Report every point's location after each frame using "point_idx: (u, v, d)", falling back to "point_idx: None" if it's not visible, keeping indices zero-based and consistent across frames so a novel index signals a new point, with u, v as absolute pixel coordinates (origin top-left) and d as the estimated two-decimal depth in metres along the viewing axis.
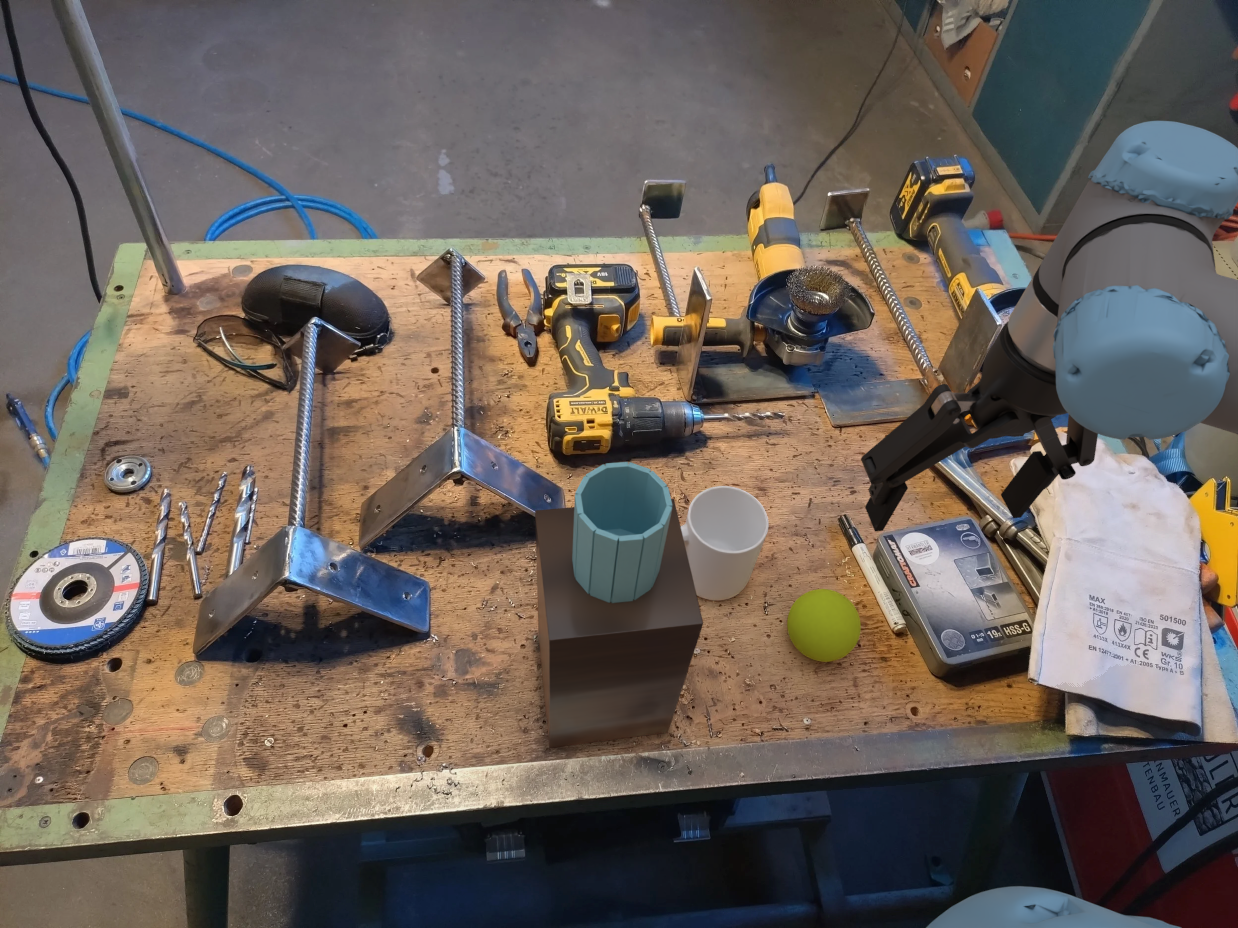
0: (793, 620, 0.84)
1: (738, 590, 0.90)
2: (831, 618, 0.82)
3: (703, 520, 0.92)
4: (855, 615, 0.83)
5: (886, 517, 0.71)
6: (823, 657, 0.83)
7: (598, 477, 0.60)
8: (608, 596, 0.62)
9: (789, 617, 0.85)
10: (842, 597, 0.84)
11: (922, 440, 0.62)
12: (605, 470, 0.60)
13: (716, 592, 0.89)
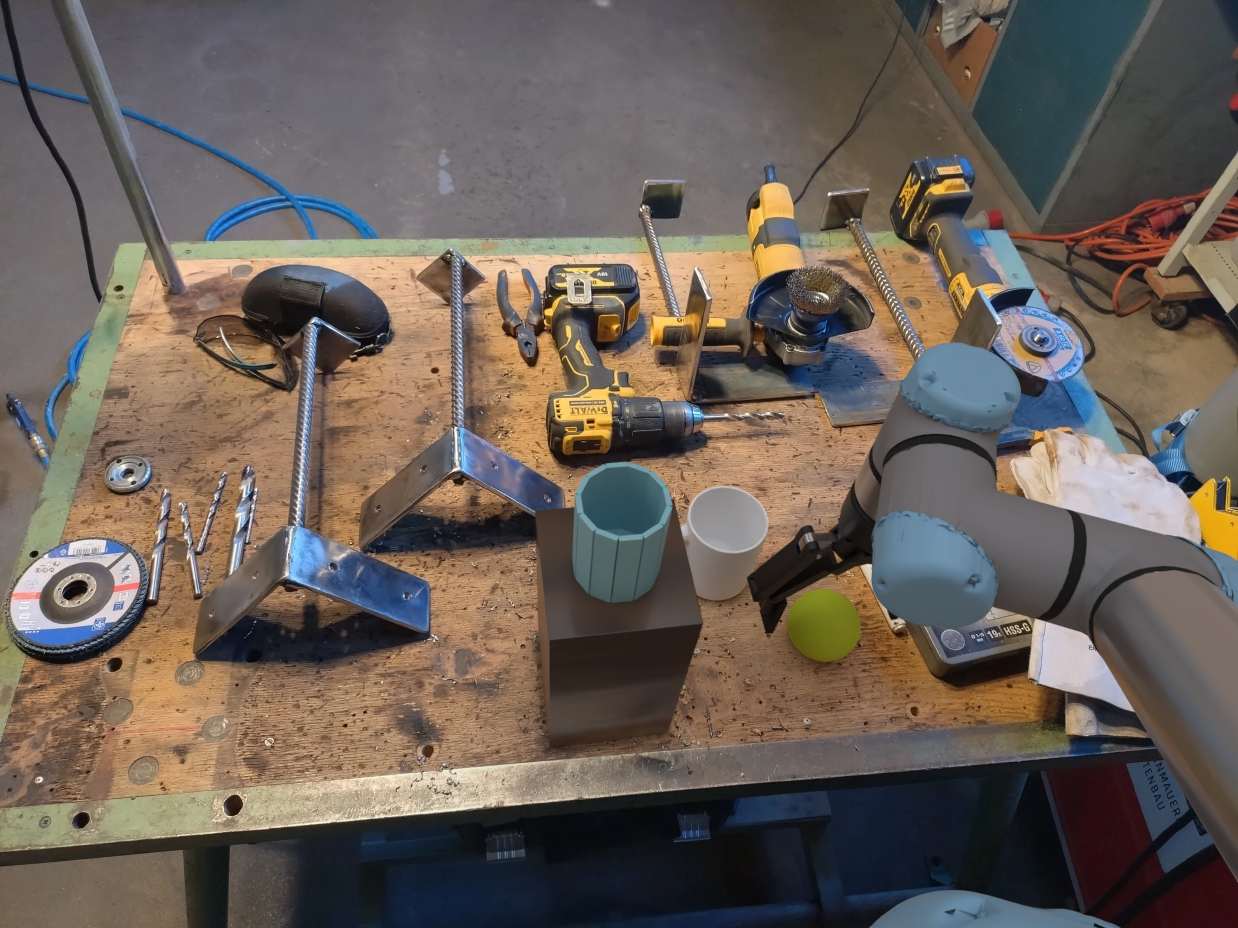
0: (793, 620, 0.84)
1: (738, 590, 0.90)
2: (831, 618, 0.82)
3: (703, 520, 0.92)
4: (855, 615, 0.83)
5: (773, 624, 0.81)
6: (823, 657, 0.83)
7: (598, 477, 0.60)
8: (608, 596, 0.62)
9: (789, 617, 0.85)
10: (842, 597, 0.84)
11: (791, 571, 0.72)
12: (605, 470, 0.60)
13: (716, 592, 0.89)
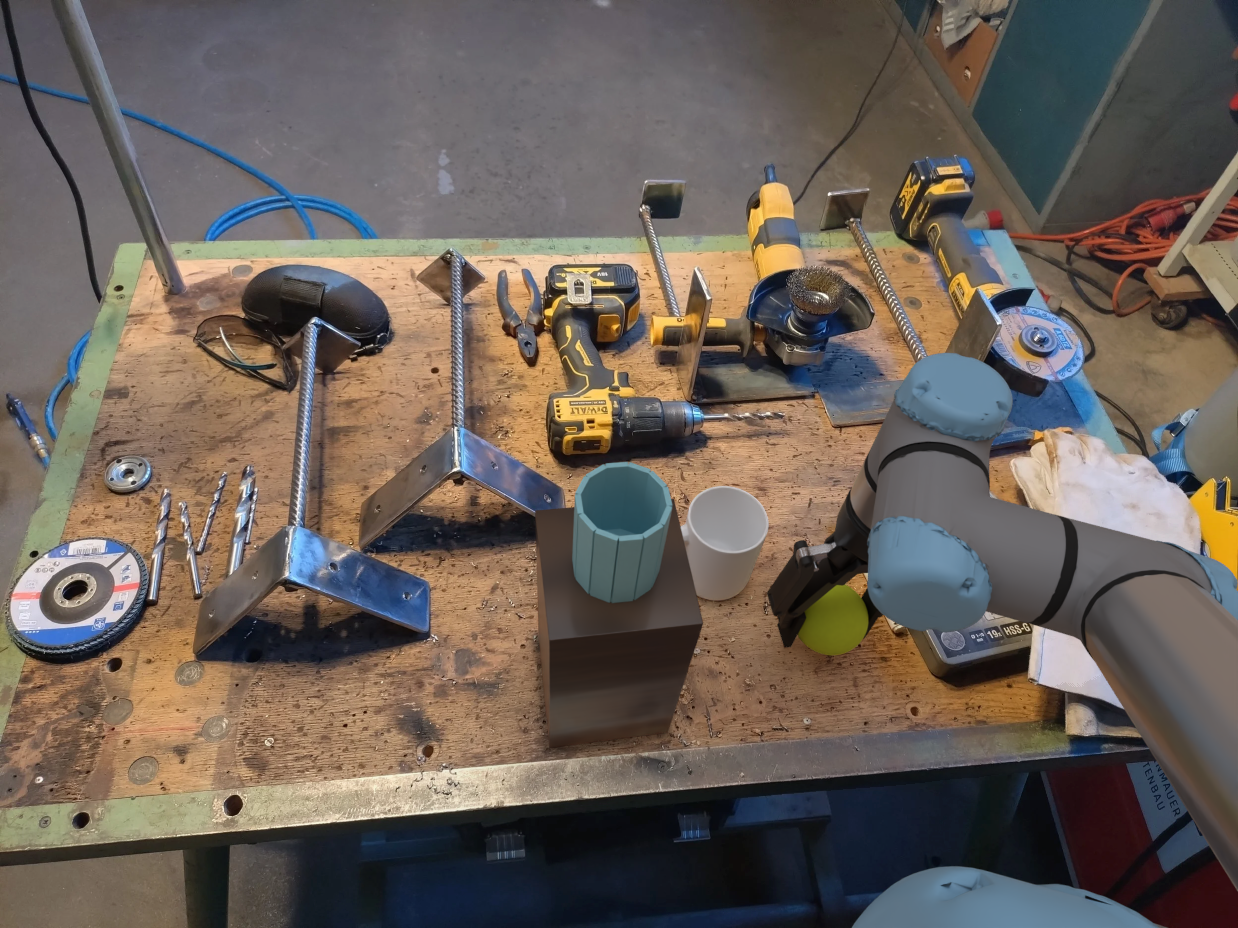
0: None
1: (738, 590, 0.90)
2: (839, 610, 0.80)
3: (703, 520, 0.92)
4: (862, 607, 0.81)
5: (792, 638, 0.83)
6: (830, 650, 0.81)
7: (598, 477, 0.60)
8: (608, 596, 0.62)
9: None
10: (849, 589, 0.82)
11: (796, 585, 0.74)
12: (605, 470, 0.60)
13: (716, 592, 0.89)
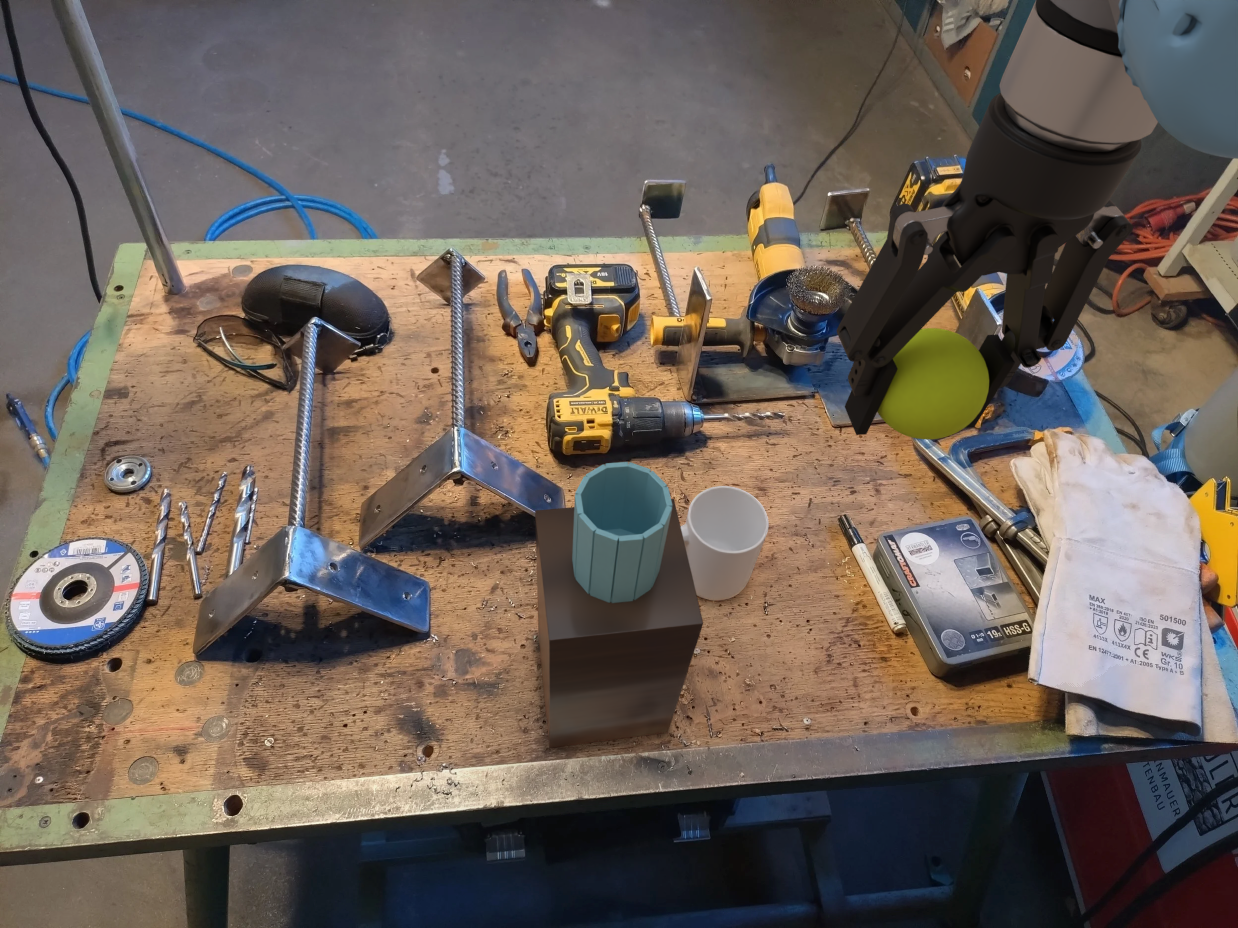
0: None
1: (738, 590, 0.90)
2: (948, 357, 0.52)
3: (703, 520, 0.92)
4: (982, 359, 0.53)
5: (870, 414, 0.55)
6: (932, 423, 0.53)
7: (598, 477, 0.60)
8: (608, 596, 0.62)
9: None
10: (960, 335, 0.54)
11: (891, 288, 0.46)
12: (605, 470, 0.60)
13: (716, 592, 0.89)
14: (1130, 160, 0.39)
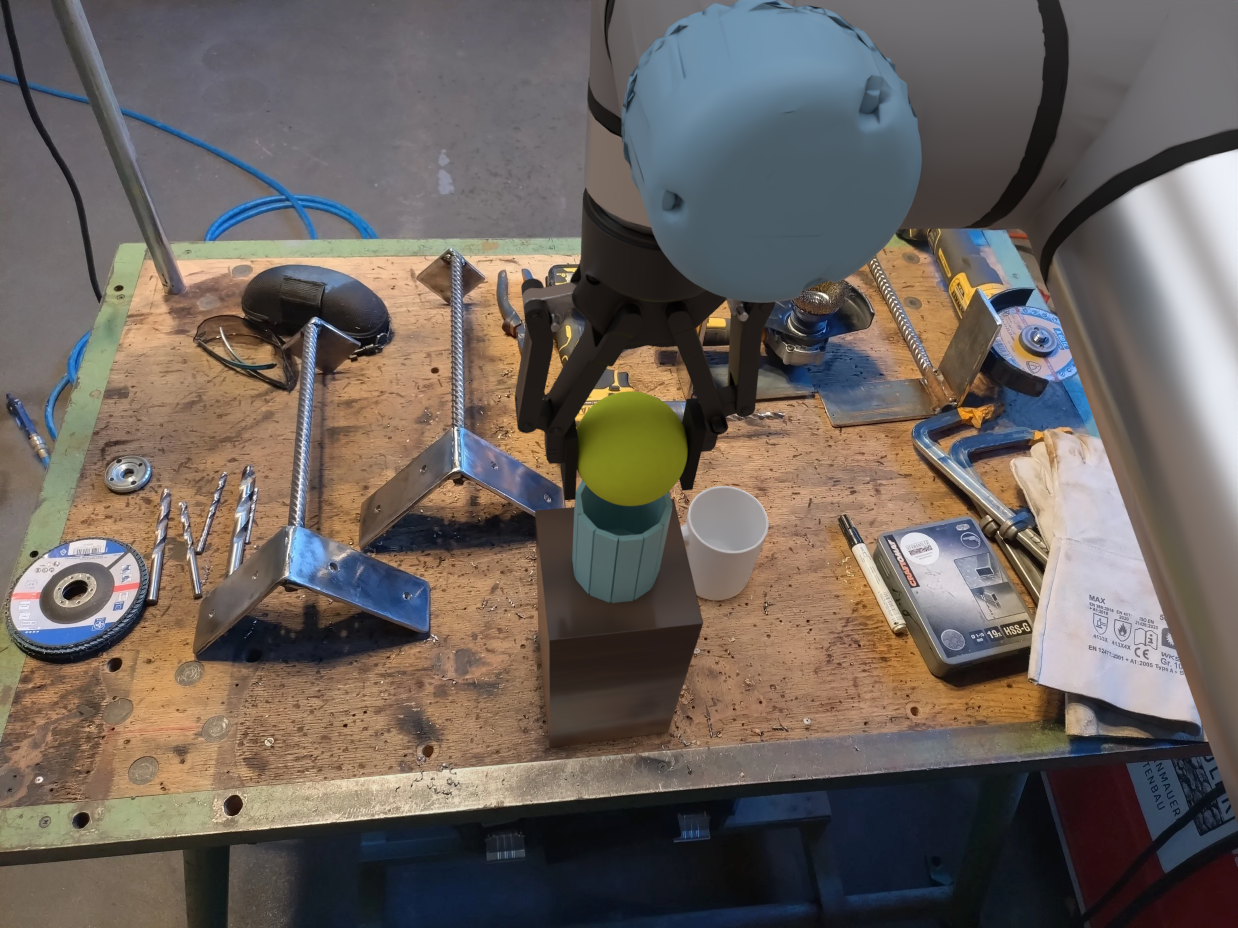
0: None
1: (738, 590, 0.90)
2: (630, 425, 0.50)
3: (703, 520, 0.92)
4: (673, 426, 0.51)
5: (570, 481, 0.53)
6: (621, 492, 0.51)
7: None
8: (608, 596, 0.62)
9: None
10: (656, 400, 0.52)
11: (532, 364, 0.44)
12: None
13: (716, 592, 0.89)
14: None
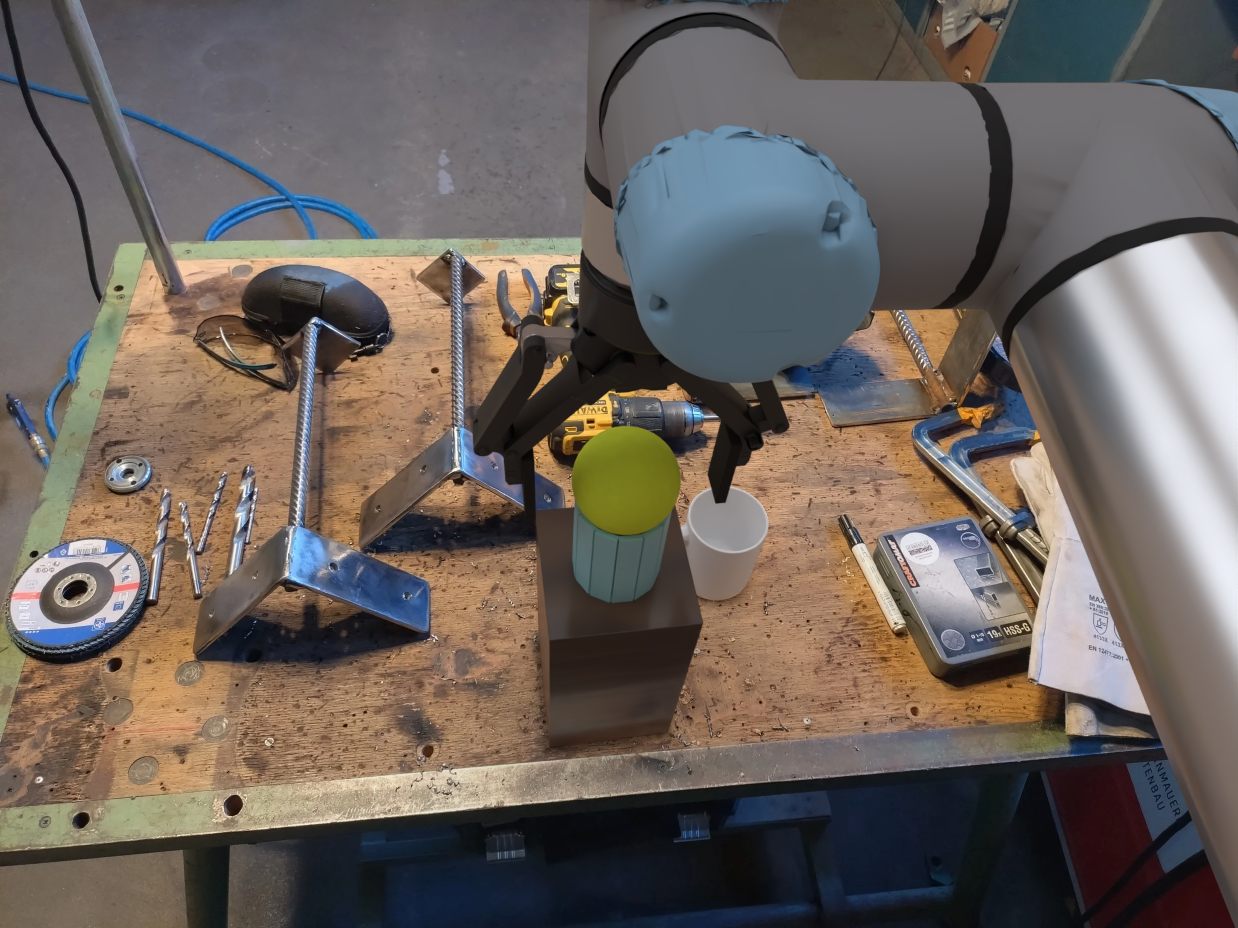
0: (575, 469, 0.55)
1: (738, 590, 0.90)
2: (625, 460, 0.53)
3: (703, 520, 0.92)
4: (667, 460, 0.54)
5: (529, 501, 0.54)
6: (616, 523, 0.54)
7: None
8: (608, 596, 0.62)
9: (573, 468, 0.56)
10: (650, 434, 0.55)
11: (513, 393, 0.46)
12: None
13: (716, 592, 0.89)
14: None
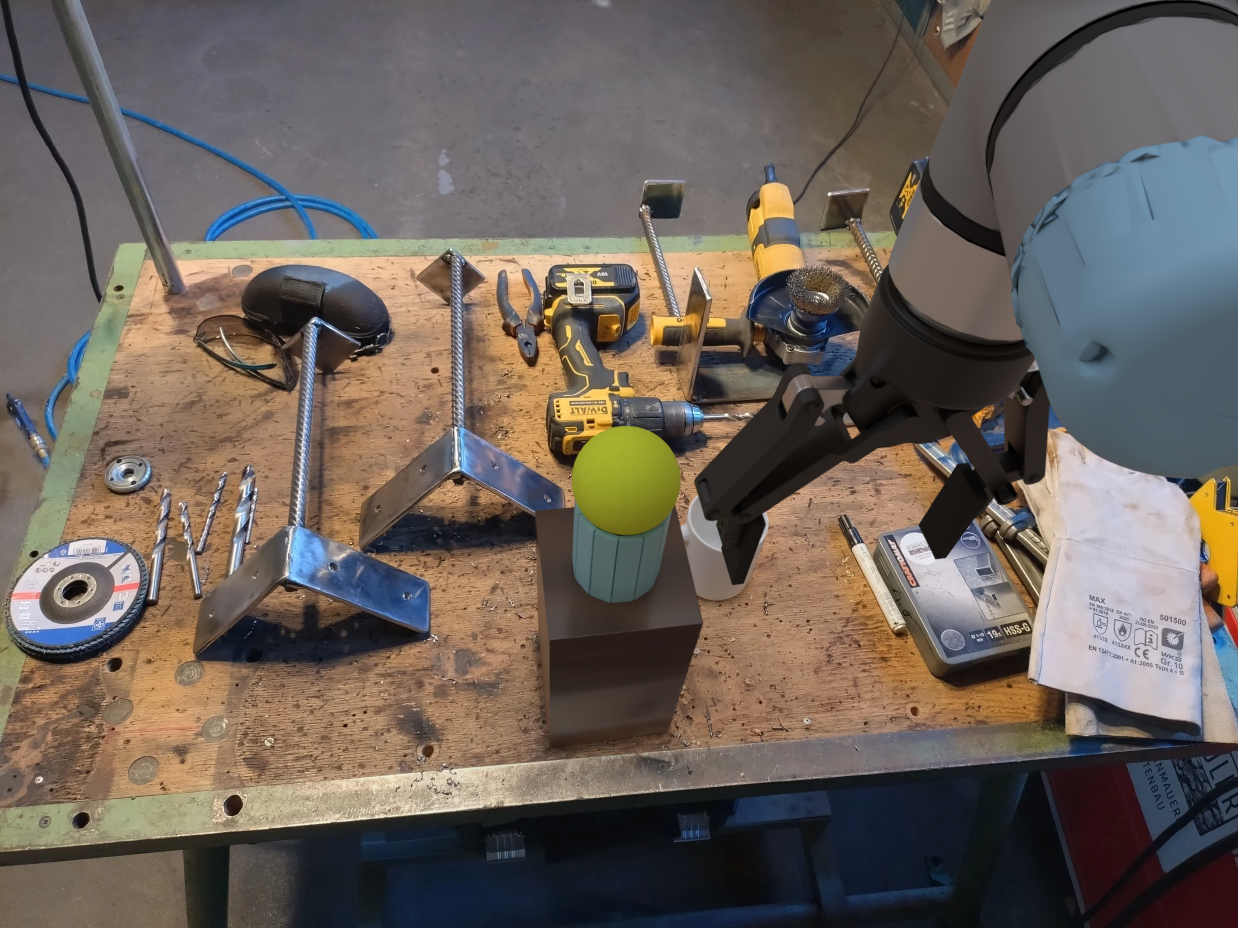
0: (575, 469, 0.55)
1: (738, 590, 0.90)
2: (625, 460, 0.53)
3: (703, 520, 0.92)
4: (667, 460, 0.54)
5: (744, 566, 0.48)
6: (616, 523, 0.54)
7: None
8: (608, 596, 0.62)
9: (573, 468, 0.56)
10: (650, 434, 0.55)
11: (771, 453, 0.40)
12: None
13: (716, 592, 0.89)
14: None
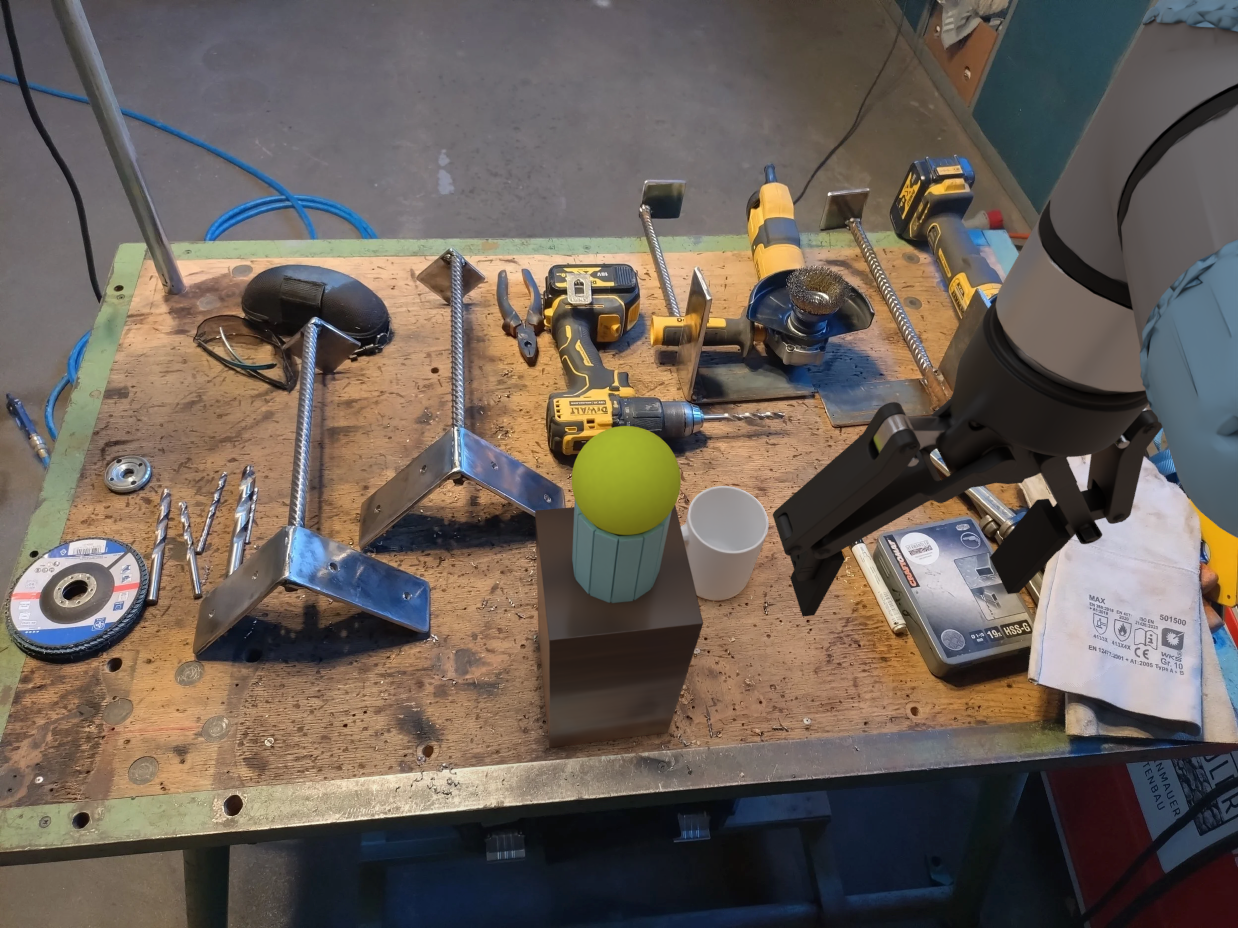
0: (575, 469, 0.55)
1: (738, 590, 0.90)
2: (625, 460, 0.53)
3: (703, 520, 0.92)
4: (667, 460, 0.54)
5: (817, 598, 0.47)
6: (616, 523, 0.54)
7: None
8: (608, 596, 0.62)
9: (573, 468, 0.56)
10: (650, 434, 0.55)
11: (860, 492, 0.39)
12: None
13: (716, 592, 0.89)
14: None
